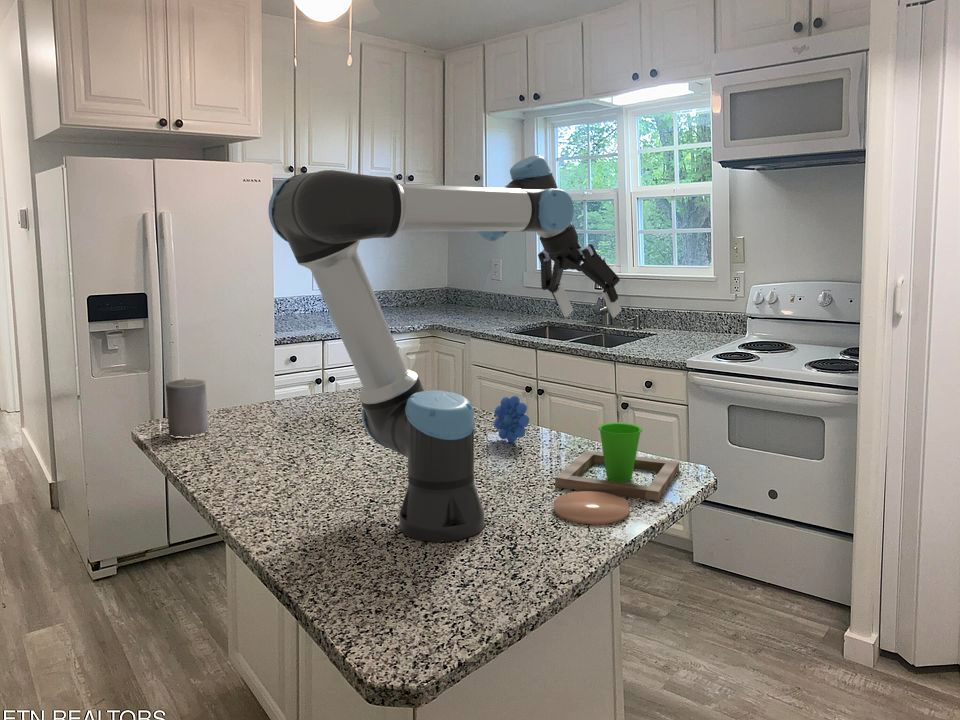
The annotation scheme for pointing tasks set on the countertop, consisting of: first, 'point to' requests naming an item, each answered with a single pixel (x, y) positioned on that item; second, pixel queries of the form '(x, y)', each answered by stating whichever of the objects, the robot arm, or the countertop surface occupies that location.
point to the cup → (619, 449)
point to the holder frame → (652, 492)
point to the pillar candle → (187, 407)
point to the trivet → (591, 507)
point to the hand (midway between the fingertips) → (592, 313)
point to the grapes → (511, 419)
